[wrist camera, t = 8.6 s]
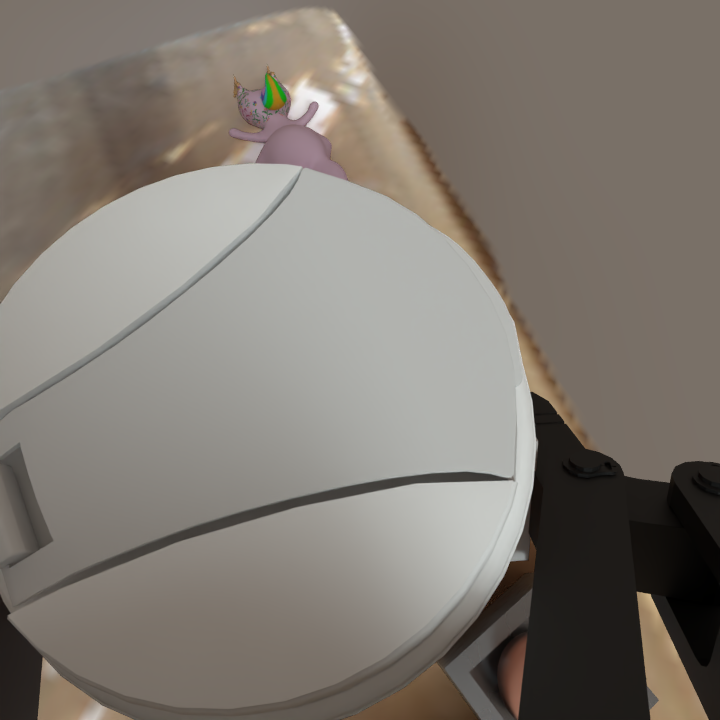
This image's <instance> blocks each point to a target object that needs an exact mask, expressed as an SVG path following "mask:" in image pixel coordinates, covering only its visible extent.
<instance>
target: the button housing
mask: <svg viewBox="0 0 720 720" xmlns="http://www.w3.org/2000/svg"><path fill="white" fill-rule="evenodd" d="M533 579H534V573H525V574H524V575H523V576H522V577H521V578H519V579H518V580H517V581H516V582H515V583H514V584H513V585H512V586H511V587H509V588H508V589H507V590H506V591H505V592H504V593H503V594H502V595H501V596H499V597H498V598H497V599H496V600H495V601H494V602H493V603H492V604H491V605H490V606H488V607H487V608H486V609H485V610H484V611H483V612H482V613H481V614H480V615H479V617H478V618H477V619H476V620H475V621H474V623H473V624H472V625H471V626H470V627H469V628H468V629H467V630H466V632H465V633H464V634H463V635H462V636H461V637H460V638H459V639H458V640H457V642H456V643H455V644H454V645H453V646H452V647H451V648H450V649H449V651H448V652H447V653H446V654H445V655H444V656H443V657H442V658H440V659H439V660H438V661H437V663H438V665H439V666H440V667H441V669H442V670H443V671H444V673H445V674H446V676H447V677H448V678H449V680H450V681H451V682H452V684H453V685H454V687H455V688H456V689H457V691H458V692H459V693H460V695H461V696H462V698H463V699H464V700H465V702H466V703H467V704H468V706H469V707H470V709H471V710H472V711H473V713H474V714H475V715H476V717H477V718H478V719H479V720H516V719H515V718H514V717H513V716H512V715H511V714H510V713H509V711H508V710H507V708H506V706H505V705H504V703H503V701H502V698H501V695H500V692H499V688H498V682H497V669H498V663H499V659H500V657H501V654H502V652H503V650H504V648H505V647H506V645H507V644H508V643H509V642H510V641H511V640H512V639H513V638H514V637H516V636H517V635H519V634H521V633H523V632H526V631H528V624H529V615H530V606H531V597H532V588H533ZM647 693H648V702H649V710H650V709H651V708H652V707H653V706H654V705H655V704H656V703H657V702H658V701H659V700H658V699H657V697H656V696H655V695H654V694H653V693H652V691H651V690H650V689H649V688H648V687H647Z"/></svg>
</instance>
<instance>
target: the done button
mask: <svg viewBox="0 0 720 720" xmlns="http://www.w3.org/2000/svg"><path fill="white" fill-rule="evenodd" d="M527 633H528V631H526V632H523V633H521V634H519V635H517V636H516V637H514V638H513V639H512V640H511V641H510V642H509V643H508V644H507V645H506V647H505V648H504V650H503V652H502V654H501V657H500V659H499V663H498V669H497V682H498V688H499V692H500V695H501V698H502V701H503V703H504V705H505V706H506V708H507V710H508V711H509V713H510V714H511V715H512V716H513V717H514V718H515V719H516V720H518V715H519V705H520V696H521V687H522V678H523V669H524V660H525V651H526V642H527Z"/></svg>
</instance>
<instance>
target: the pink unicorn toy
mask: <svg viewBox="0 0 720 720" xmlns="http://www.w3.org/2000/svg"><path fill="white" fill-rule="evenodd" d="M267 69H268V71H267V73H266V75H265V87H264V88H263V89H259V90H252V91H249V90H246V89H245V88H243V87H241V85H240V83H237V81H236V78H235V76H234V74H233V77H234V80H235V82H234V84H235V85H234V92H233V93H234V96H233V97H235V95H237V96H238V107H239V111H240V113H241V115H242V117H243V118H244V119H245V120H246V121H247V122H248V123H249V124H251V125H254V126H257V127H259V128H262V129H263V130H262V131H261V132H258V133H247V132H242V131H240V130H238V129H235V128H232V129H230V131H229V134H230V136H232V137H234V138H238V139H242V140H247V141H254V142H265V145H264V147H263V149H262V150H261V152H260V154H259V156H258V158H257V160H256V163H258V164H289V165H295V166H302V168H309V169H312V170H315V171H318V172H321V173H325V174H328V175H331V176H334V177H337V178H340V179H343V180H346V181H348V179H347V176H346V173H345V171H344V170H343V168H342V167H341V166H340V165H339V164H338V163H336V162H334V161H332V160H330V154H331V147H332V146H331V143H330V141H329V140H328V139H327V138H325V137H324V136H322V135H320V134H318V133H316V132H315V131H313V130H312V129H310V128H308V127H305V125H306V124H307V123H308V122H309V121H310V120H311V118H312V117H313V116H314V114H315V113H316V111H317V109H318V103H317V102H312V103H311V104H310V106H309V109H308V111H307V112H306V113H305V114H304V115H303V116H302V117H301V118H299V119H297V120H289V119H288V118H287V115H288V113H289V110H290V105H291V98H290V95H289V92H288V91H287V90H286V88H285V87H284V86H283V85H282V84H281V83H280V82H279V81H278V80H277V78H276V77H275V74H274V72H270V70H269V67H268V65H267Z"/></svg>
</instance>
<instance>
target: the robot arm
mask: <svg viewBox="0 0 720 720" xmlns="http://www.w3.org/2000/svg"><path fill="white" fill-rule="evenodd" d="M530 394H531V398H532V402H533V413H534V423H535V434H536V455H535V469H534V484H533V490H532V494H531V499H530V503H529V507H528V511H527V516H526V520H525V524H524V528H523V532H522V535H521V537H520V539H519V542H518V544H517V546H516V549H515V551H514V554H513V556H512V558H511V561H523V560H528V559H529V547H530V537H531V539H532V541H533V544H534V546H535V548H536V550H537V551H536V561H535V570H534V579H533V588H532V597H531V606H530V615H529V624H528V633H527V642H526V651H525V660H524V669H523V678H522V687H521V696H520V705H519V715H518V720H650V712H649V702H648V693H647V684H646V675H645V666H644V656H643V647H642V638H641V629H640V619H639V610H638V601H637V592H643V593H648V594H651V597H652V599H653V601H654V603H655V605H656V607H657V609H658V612H659V614H660V616H661V618H662V620H663V622H664V624H665V627H666V629H667V631H668V633H669V635H670V637H671V639H672V642H673V644H674V646H675V648H676V650H677V652H678V654H679V657H680V659H681V661H682V663H683V665H684V667H685V669H686V672H687V674H688V676H689V678H690V680H691V682H692V684H693V687H694V689H695V691H696V693H697V695H698V697H699V699H700V702H701V704H702V706H703V708H704V710H705V712H706V714H707V717H708V719H709V720H720V464H719V463H714V462H702V461H695V462H685V463H682V464H680V465H678V466H676V467H675V469H674V470H673V472H672V475H671V480H670V483H667V482H658V481H650V480H642V479H636V478H631V477H627V476H624V473H623V471H622V468H621V466H620V465H619V464H618V463H617V462H616V461H614V460H613V459H612V458H611V457H608V456H606V455H604V454H602V453H600V452H596V451H592V450H588V449H585V448H584V446H583V445H582V444H581V443H580V441H579V440H578V439H577V437H576V436H575V435H574V434H573V432H572V431H571V430H570V428H569V427H568V426H567V424H564V421H563V419H562V418H561V417H560V415H559V414H558V415H557V412H556V410H555V409H554V408H553V406H552V405H551V404H550V403H549V401H547V400H546V399H544V398H542V397H540V396H539V395H537V394H535V393H533V392H530ZM636 591H637V592H636ZM9 614H11V613H10V611H9V610H8V608H7V607H6V605H5V604H4V602H3V600H2V597H1V595H0V720H37V717H38V706H39V694H40V682H41V670H42V658H43V656H42V655H41V654H40V653H39V652H38V651H37V650H36V649H35V648H34V647H33V646H32V645H31V644H30V642H29V641H28V640H27V639H26V638H25V637H24V636H23V635H22V634H21V633H20V632H19V631H18V630H17V629H16V628H15V627H14V626H13V625H12V623H11V622H10V621H9V620H8V619H7V618H8V616H7V615H9Z"/></svg>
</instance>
